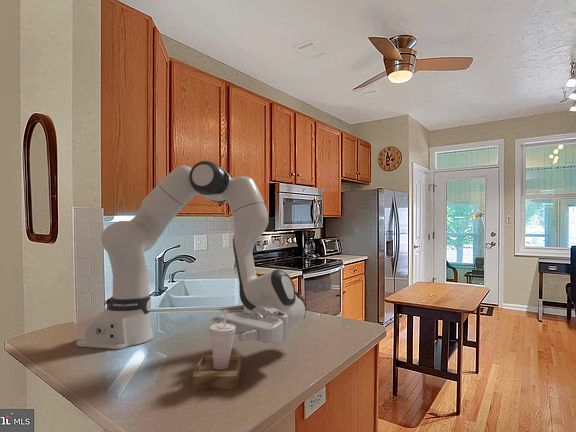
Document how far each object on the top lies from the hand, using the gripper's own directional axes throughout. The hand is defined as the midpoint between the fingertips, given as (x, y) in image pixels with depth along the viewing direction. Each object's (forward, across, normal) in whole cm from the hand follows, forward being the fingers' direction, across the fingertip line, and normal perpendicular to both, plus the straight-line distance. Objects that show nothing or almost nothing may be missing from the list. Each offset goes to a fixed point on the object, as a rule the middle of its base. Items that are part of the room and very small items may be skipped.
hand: (226, 333), depth 86 cm
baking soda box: (-59, -45, +11) cm, 75 cm away
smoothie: (+2, 0, +8) cm, 8 cm away
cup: (-47, -37, +11) cm, 61 cm away
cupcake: (-55, -20, +11) cm, 60 cm away
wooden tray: (+2, 0, +11) cm, 11 cm away
